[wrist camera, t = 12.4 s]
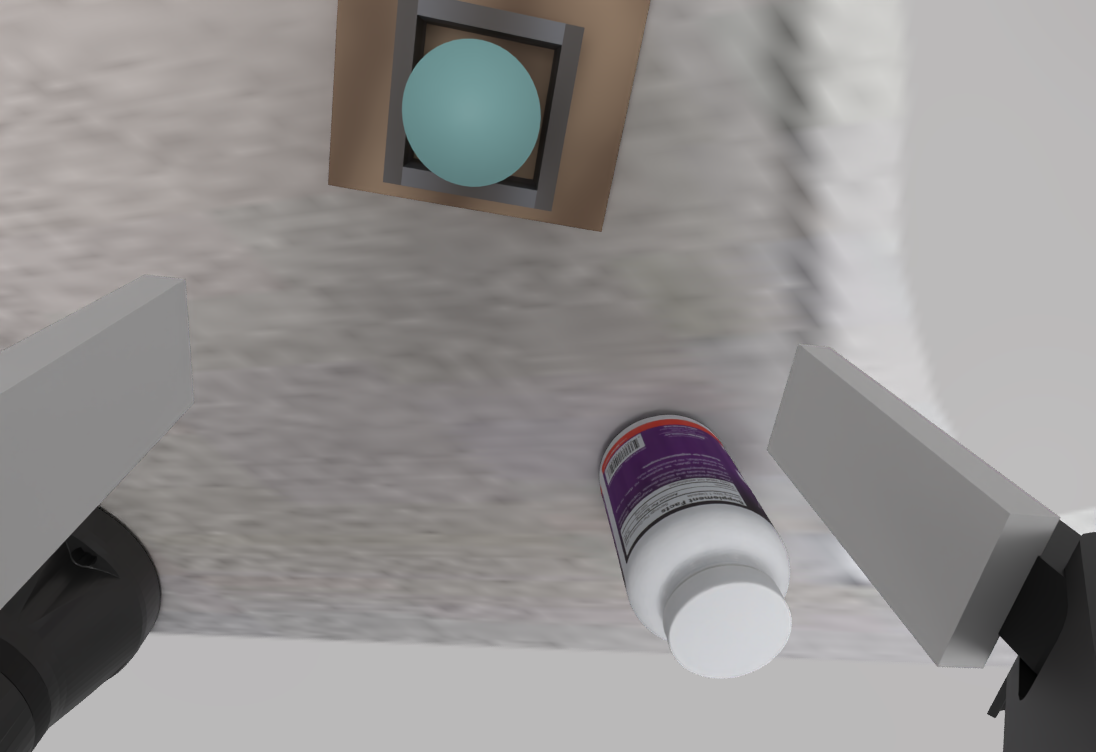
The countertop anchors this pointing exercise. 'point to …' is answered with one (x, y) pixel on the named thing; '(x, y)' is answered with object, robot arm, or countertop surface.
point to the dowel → (471, 112)
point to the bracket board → (554, 66)
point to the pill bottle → (695, 547)
